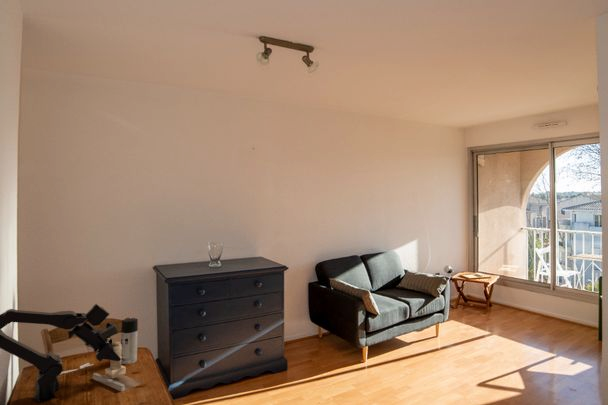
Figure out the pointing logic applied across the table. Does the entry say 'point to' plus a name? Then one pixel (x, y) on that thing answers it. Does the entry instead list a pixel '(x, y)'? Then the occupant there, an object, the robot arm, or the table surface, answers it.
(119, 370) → the white tall rounded post
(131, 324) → the spray can
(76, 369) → the pliers
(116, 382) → the board
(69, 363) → the table surface
